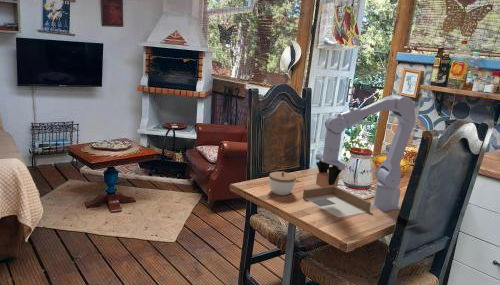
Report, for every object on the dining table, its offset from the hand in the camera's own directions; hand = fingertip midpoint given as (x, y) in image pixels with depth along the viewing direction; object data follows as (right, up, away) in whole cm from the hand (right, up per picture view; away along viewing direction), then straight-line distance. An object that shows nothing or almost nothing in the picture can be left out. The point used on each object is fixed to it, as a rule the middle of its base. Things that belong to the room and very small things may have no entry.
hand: (326, 182), depth 144 cm
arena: (+3, -9, +2) cm, 10 cm away
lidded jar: (-17, -6, +10) cm, 20 cm away
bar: (0, -1, 0) cm, 1 cm away
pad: (-1, -8, +2) cm, 8 cm away
